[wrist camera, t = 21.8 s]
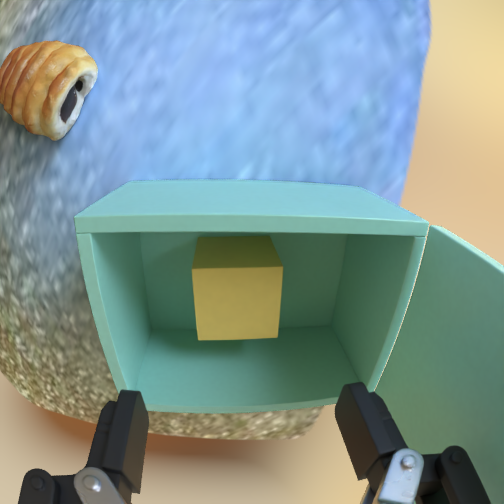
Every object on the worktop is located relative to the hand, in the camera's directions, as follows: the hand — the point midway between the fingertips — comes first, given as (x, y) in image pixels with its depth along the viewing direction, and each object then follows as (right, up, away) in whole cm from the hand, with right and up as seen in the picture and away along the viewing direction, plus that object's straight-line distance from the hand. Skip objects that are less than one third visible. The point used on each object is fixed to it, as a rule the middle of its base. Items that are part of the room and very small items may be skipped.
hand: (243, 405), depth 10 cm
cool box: (0, +5, +12) cm, 13 cm away
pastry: (-15, +18, +5) cm, 24 cm away
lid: (+9, -2, -4) cm, 10 cm away
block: (-1, +5, +11) cm, 12 cm away
